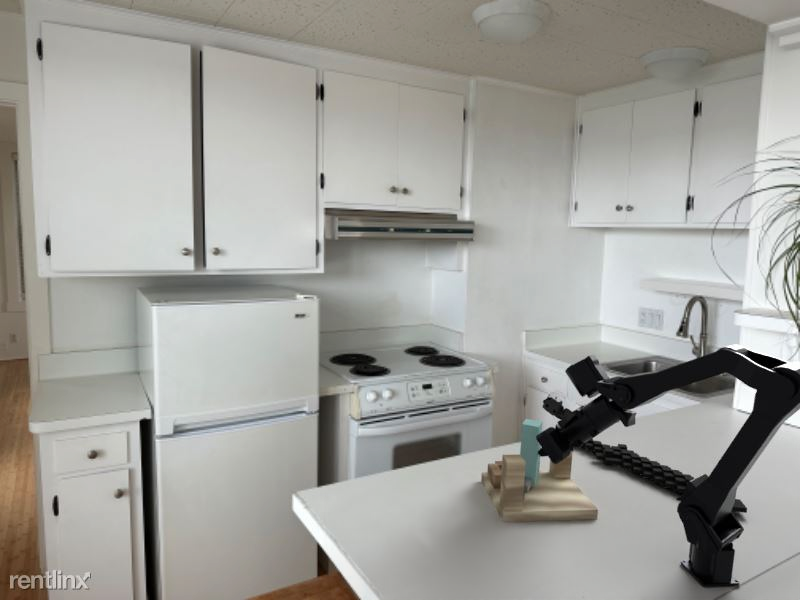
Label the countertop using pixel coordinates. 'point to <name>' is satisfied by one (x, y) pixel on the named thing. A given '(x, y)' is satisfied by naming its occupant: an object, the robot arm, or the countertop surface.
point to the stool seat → (536, 492)
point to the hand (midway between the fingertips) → (539, 454)
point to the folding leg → (531, 451)
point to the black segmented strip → (645, 467)
